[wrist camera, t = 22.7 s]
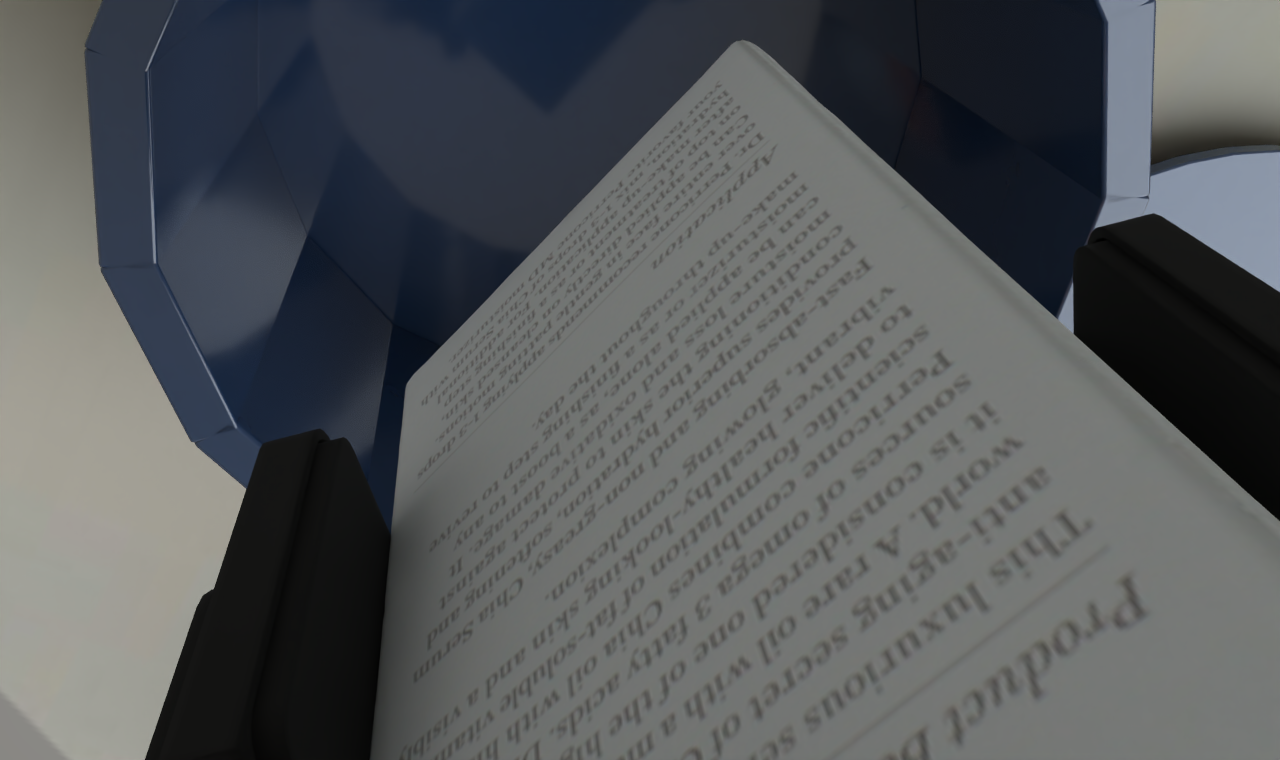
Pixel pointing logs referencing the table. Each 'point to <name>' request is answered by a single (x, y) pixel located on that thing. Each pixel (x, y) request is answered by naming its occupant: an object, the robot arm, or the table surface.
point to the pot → (529, 165)
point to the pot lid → (1225, 203)
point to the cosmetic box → (803, 490)
